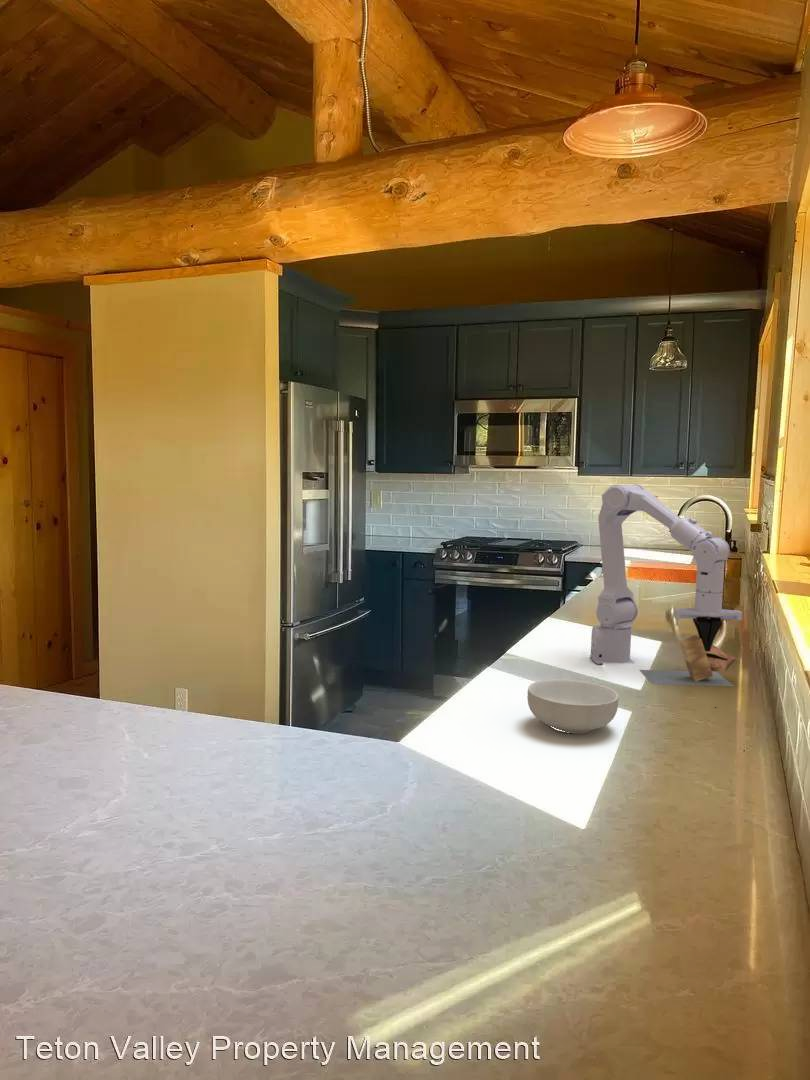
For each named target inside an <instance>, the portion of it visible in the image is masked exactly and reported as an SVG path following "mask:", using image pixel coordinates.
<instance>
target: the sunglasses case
mask: <svg viewBox="0 0 810 1080" xmlns="http://www.w3.org/2000/svg"><path fill="white" fill-rule="evenodd" d="M705 652H706V655H707V658H708V662H709V665H710V668H711V671H712V672H727V670H728V669H729V667H730V666H731V665H732V664H733V663H734V662H735V661H736V660H738V659H737V658H736V657H735V656H733V655H732V654H731V655H730V654H729V653H726V652H724V651H723V650H721V648H718V647H717V646H716V645H714V644H712V646H711V650H710V651H705Z"/></svg>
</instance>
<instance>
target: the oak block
mask: <svg viewBox="0 0 810 1080" xmlns="http://www.w3.org/2000/svg"><path fill="white" fill-rule="evenodd" d="M678 643H679V645H680V648H681V652H682V655H683V659H684V661H685V664H686V667H687V668H686V669H687V671H689V674H690V677H691V678H692V679H694V680H695V681H699V680H702V679H705V678H709V677H712V676H713V674H712V672H713V671H711V668H710V665H709V662H708V658H707V655H706V652H705V649H704V646H703V642H702V639H701V638H699V635H696V634H694V635H691V636H689V637H684V638H682V639H679V640H678Z"/></svg>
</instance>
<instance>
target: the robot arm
mask: <svg viewBox="0 0 810 1080" xmlns="http://www.w3.org/2000/svg"><path fill="white" fill-rule="evenodd" d="M601 501H602V504H601V508H600V511H599V514H598V519H597V520H598V530H599V532H598V533H599V540H600V541H599V542H600V543H599V544H600V555H601V565H602V576H603V578H602V579H603V589H602V590H601V592H600V594H599V595H598V596H597V599H598V603H597V604H598V605H597V606H596V610H595V612H596V613H595V614H596V618H597V621H598V622H599V625H593V626H592V628H591V629H592V630H591V637H590V638H591V639H590V655H589V657H590V658H591V659H592V660H593V661H594V663H595V664H596V665H604V664H605V663H606V664H635V662H634V661H633V660H632V659H631V648H632V647H631V645H632V643H631V642H632V626H633V622H634V621H635V620H636V619H637V616H638V615H639V608H638V605H637V604H636V601H635V599H634V598H635V597H634V592H632V590H631V589H630V588H629V586H628V584H627V581H628V580H627V572H626V562H625V561H626V560H625V549H624V548H625V547H624V539H623V538H624V537H623V528H622V527H623V526H622V525H623V522H625V521H626V519H628V517H630V515H632V514H634V513H636V512H638V511H639V512H644V513H646V514H647V515H649V516H650V517H652V518H653V519H655V520H656V521H657V522H658V523H661V524H662V525H663V526H665V527H667V528H668V529H670V536H671V538H673V539H674V540H676V541H677V543H679V544H680V545H682V547H684V548H685V549H687V550H688V551H690V552H691V553H692V556H693V558H694V560H695V562H696V579H695V580H696V581H695V598H694V599H695V600H694V608H693V607H690V608H674V609H673V617H674V618H675V619H677V620H678V619H679V620H681V619H692V621H693V623H694V625H695V626H694V627H695V628H696V631H697V634H698V637H699V638H701V639H702V642H703V646H704V649H705V651H710V650H711V646H712V645H713V642H714V640H715V638H716V635H717V634H718V632H719V631H720V629H721V628H722V626H723V621H722V620H731V621H733V620H735V621H742V619H743V612H742V611H741V610H738V609H736V610H735V609H724V608H722V607H723V597H724V596H723V595H724V594H723V593H724V579H725V561H726V560H727V559H729V557H730V552H731V550H730V545H729V543H728V542H727V541H726V540H725V539H724V538H723V537H721V536H713V535H714V534H713V533H712V532H711V531H709V530H708V531H707V530H706V529H704V528H703V527H702V526H701V525H699V524H698V523H697V519H695V518H693V517H690V518H689V517H687V516H686V517H685V516H684V517H679V516H678V515H677V514H676V513H675V512H673V511H672V510H671V509H670V508H669V507H668V506H667V505H665V504H664V503H663V502H662V501H660V500H659V499H658V498H657V497H655V496H654V495H653V494H652V492H651V491H650V490H648V489H645V488H644V486H642V485H640V484H638V483H634V484H630V485H629V484H624V485H623V484H612V485H611V486H609V487H608V488H607V489H606V490H605V492H604V493H603V494H602V495H601Z"/></svg>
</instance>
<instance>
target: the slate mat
mask: <svg viewBox="0 0 810 1080" xmlns="http://www.w3.org/2000/svg"><path fill="white" fill-rule="evenodd" d="M639 672H641V674H642V675H643V676H644V677H645V678H646V679H647V680H648V682H650V683H651V685H671V686H700V687H701V686H704V687H705V686H707V687H708V686H709V687H734V684H732V683H731V682H730V681H728V680H727V679H726V678H725V677H723V676H722V675H721V674H719V673H718V671H712V674H713V676H712V677H709V678H705V679H702V680H699V681H695V680H694V679H692V678H691V677H690V674H689V671H688V670H666V669H665V670H661V669H639Z"/></svg>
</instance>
